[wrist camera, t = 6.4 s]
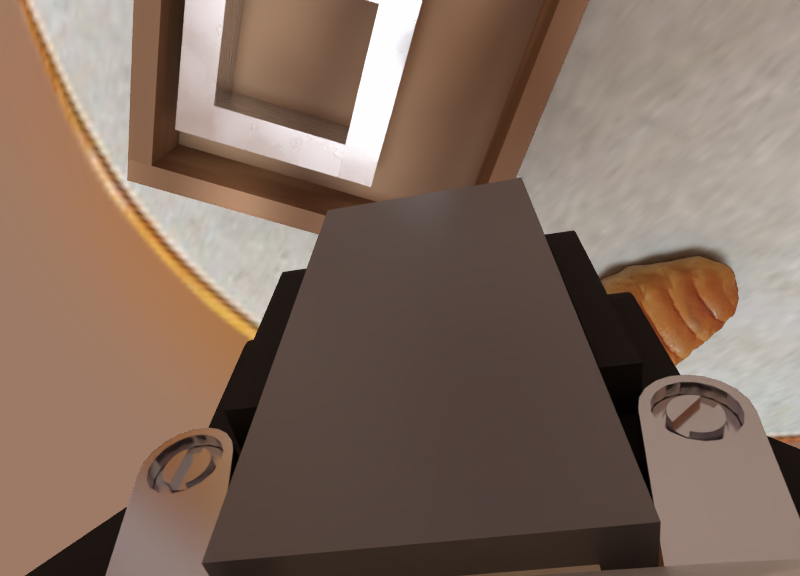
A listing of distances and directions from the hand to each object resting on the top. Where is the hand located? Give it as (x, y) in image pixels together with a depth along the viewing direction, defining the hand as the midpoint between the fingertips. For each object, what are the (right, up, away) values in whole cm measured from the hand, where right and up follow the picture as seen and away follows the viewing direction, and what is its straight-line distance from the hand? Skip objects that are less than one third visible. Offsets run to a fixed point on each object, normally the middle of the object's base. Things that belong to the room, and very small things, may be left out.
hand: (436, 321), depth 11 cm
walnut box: (-3, +11, +15) cm, 19 cm away
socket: (-5, +12, +14) cm, 19 cm away
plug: (0, +1, +2) cm, 2 cm away
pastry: (+12, 0, +21) cm, 24 cm away
